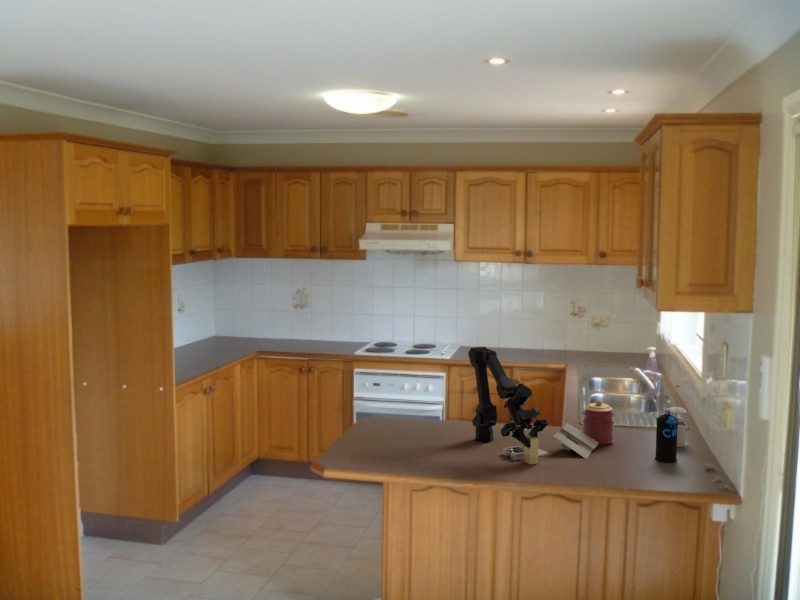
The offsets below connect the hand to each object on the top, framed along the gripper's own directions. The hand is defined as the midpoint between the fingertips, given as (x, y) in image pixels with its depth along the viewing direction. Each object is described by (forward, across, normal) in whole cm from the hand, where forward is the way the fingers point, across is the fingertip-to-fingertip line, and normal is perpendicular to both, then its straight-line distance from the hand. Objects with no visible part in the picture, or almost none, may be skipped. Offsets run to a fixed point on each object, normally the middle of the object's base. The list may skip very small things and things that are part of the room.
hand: (533, 446), depth 299 cm
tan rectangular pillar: (+4, 0, +6) cm, 7 cm away
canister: (-5, +42, +15) cm, 45 cm away
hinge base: (-3, +4, +12) cm, 13 cm away
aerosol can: (+18, +49, -8) cm, 53 cm away
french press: (+6, +70, +4) cm, 70 cm away
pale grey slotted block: (+1, +25, +9) cm, 27 cm away
